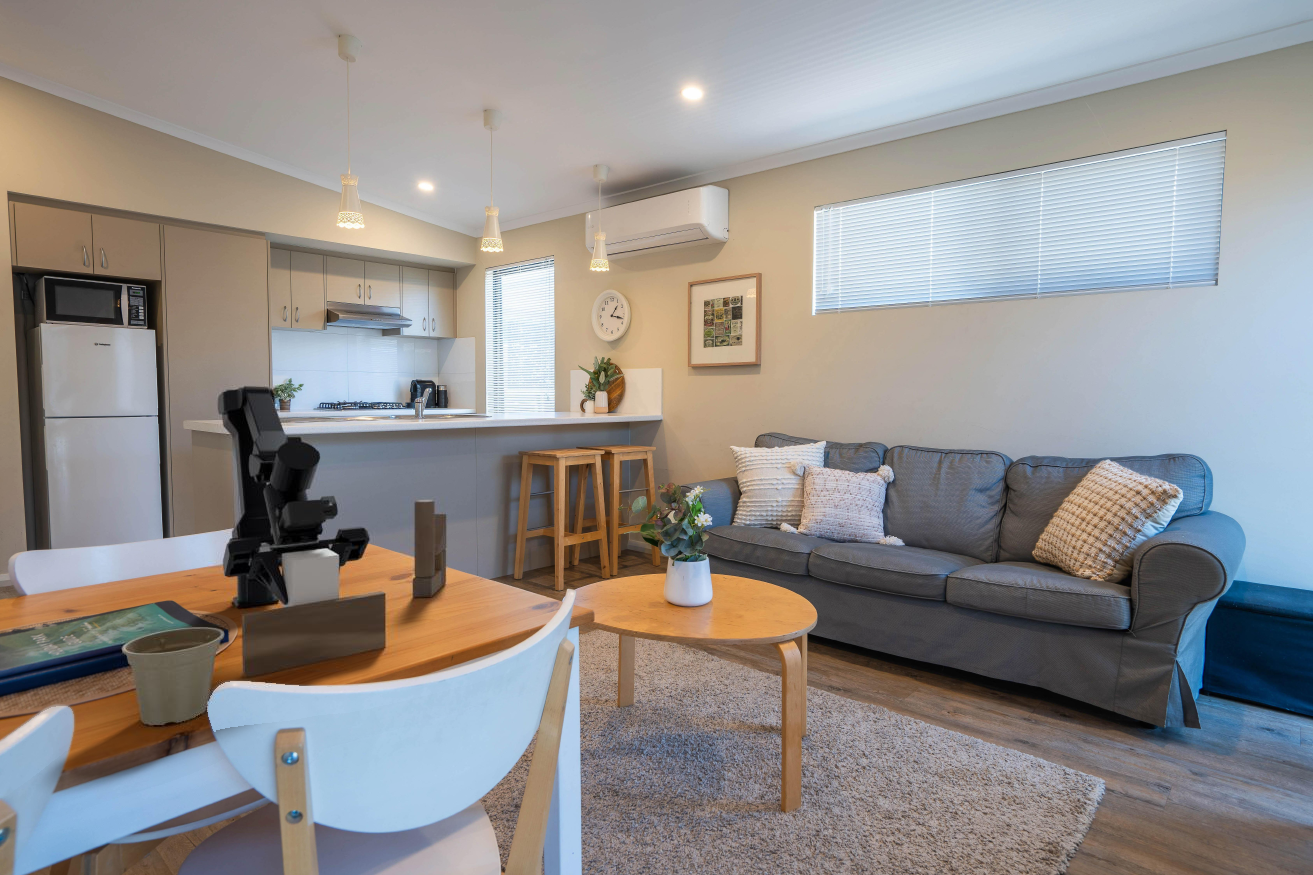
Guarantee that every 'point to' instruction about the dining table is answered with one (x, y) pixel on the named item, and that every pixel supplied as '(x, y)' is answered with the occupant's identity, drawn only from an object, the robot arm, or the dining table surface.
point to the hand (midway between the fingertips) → (311, 599)
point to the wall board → (312, 632)
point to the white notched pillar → (310, 576)
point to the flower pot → (173, 672)
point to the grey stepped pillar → (429, 549)
